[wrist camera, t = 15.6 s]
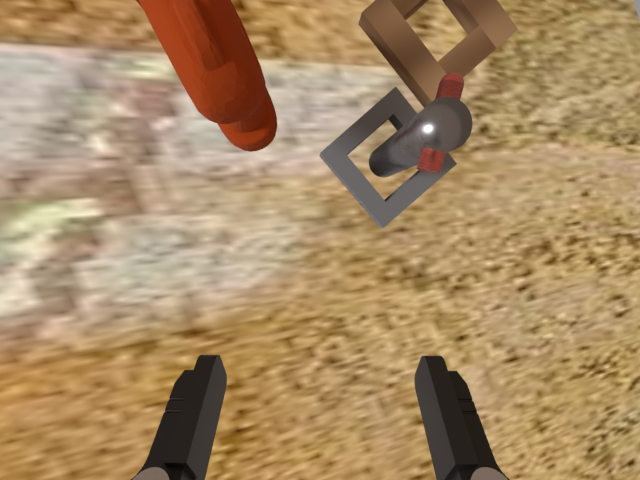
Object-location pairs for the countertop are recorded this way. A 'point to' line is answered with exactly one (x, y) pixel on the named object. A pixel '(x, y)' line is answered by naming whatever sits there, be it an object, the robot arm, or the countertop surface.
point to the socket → (356, 183)
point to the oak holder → (412, 55)
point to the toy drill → (216, 67)
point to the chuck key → (427, 133)
